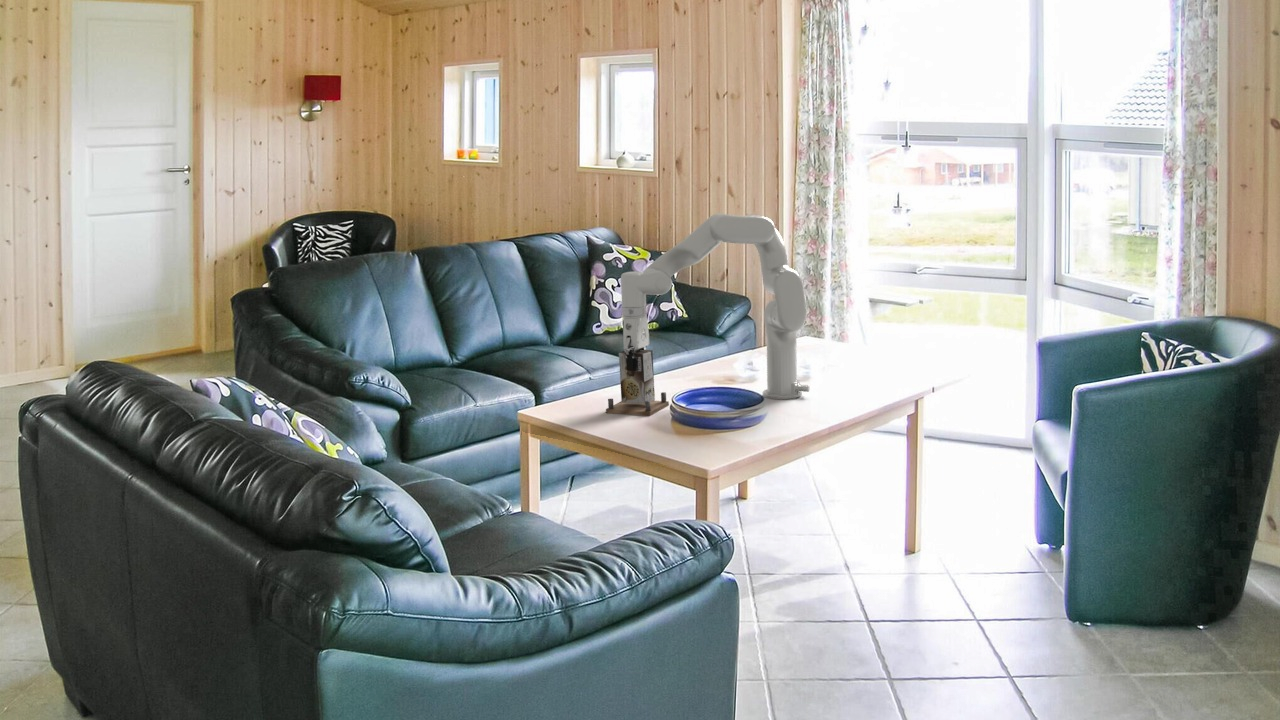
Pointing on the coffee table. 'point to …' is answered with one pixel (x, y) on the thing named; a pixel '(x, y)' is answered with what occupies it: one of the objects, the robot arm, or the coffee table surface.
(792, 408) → the coffee table surface
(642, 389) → the coffee box
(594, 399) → the coffee table surface
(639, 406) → the stub cradle
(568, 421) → the coffee table surface
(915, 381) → the coffee table surface
